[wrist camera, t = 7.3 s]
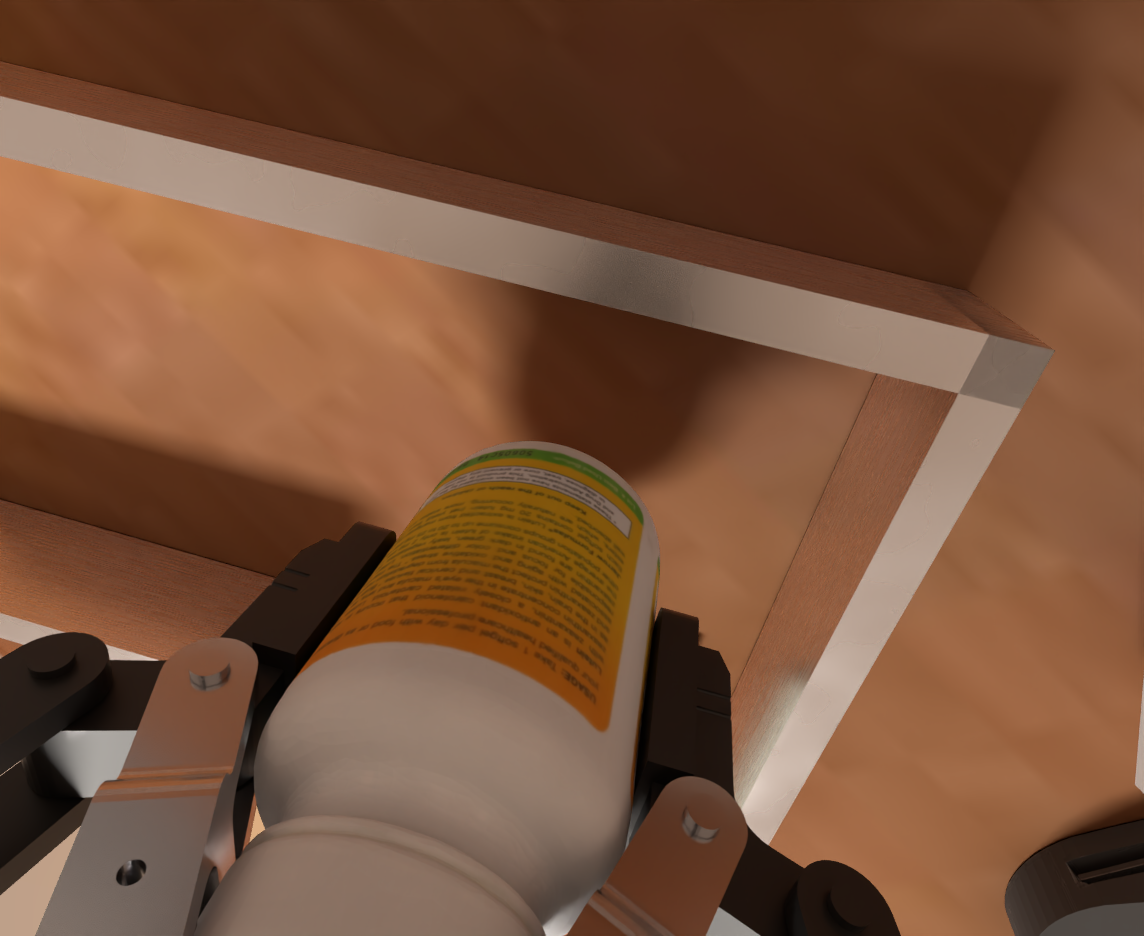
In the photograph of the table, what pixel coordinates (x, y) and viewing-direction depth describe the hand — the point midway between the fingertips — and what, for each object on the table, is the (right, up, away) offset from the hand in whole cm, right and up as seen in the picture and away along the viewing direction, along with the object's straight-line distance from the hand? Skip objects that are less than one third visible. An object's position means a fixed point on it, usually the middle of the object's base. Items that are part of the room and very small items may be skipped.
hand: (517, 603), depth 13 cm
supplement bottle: (0, +1, +2) cm, 2 cm away
